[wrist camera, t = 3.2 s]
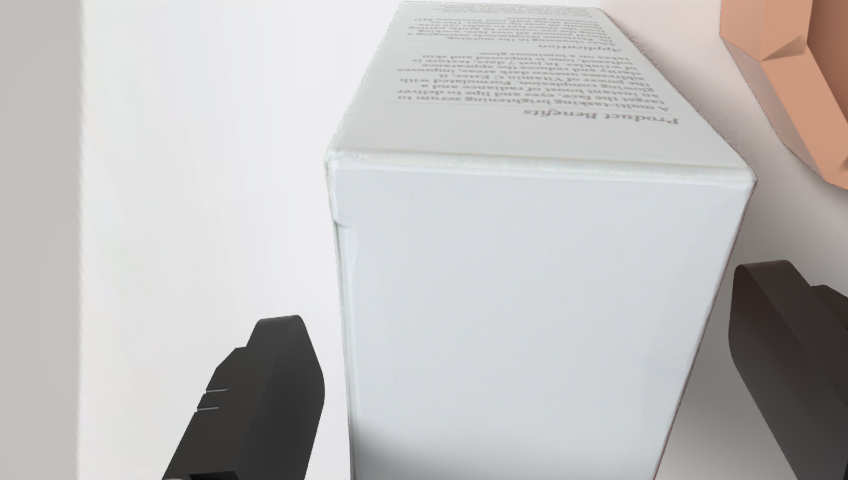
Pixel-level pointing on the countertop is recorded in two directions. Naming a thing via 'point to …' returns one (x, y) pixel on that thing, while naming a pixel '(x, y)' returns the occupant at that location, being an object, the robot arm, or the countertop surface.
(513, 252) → the small box
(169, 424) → the countertop surface
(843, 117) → the round tray
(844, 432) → the robot arm
